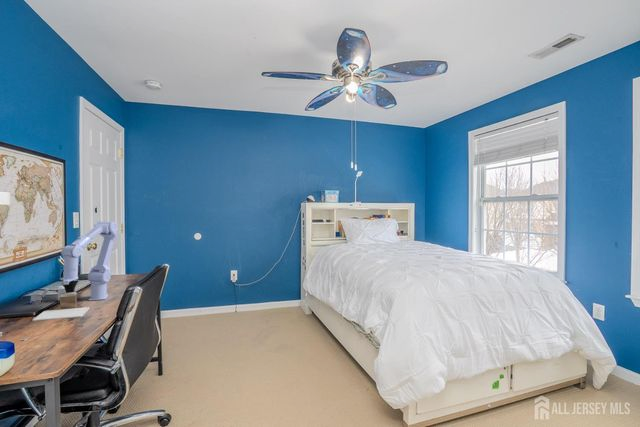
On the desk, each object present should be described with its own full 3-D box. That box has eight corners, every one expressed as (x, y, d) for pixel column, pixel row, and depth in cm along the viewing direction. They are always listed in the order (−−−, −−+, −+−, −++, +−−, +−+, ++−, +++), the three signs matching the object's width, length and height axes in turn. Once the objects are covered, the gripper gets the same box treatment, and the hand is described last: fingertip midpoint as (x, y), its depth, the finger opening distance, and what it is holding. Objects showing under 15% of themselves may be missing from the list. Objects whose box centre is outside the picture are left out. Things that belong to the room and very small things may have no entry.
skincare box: (74, 298, 173) (75, 285, 173) (70, 301, 167) (71, 287, 167) (61, 299, 171) (62, 285, 171) (56, 302, 165) (57, 288, 165)
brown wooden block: (62, 307, 155) (61, 293, 154) (77, 306, 158) (76, 292, 156) (60, 310, 153) (60, 295, 151) (75, 309, 155) (75, 294, 154)
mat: (44, 311, 150) (44, 310, 150) (89, 308, 157) (89, 307, 157) (32, 321, 137) (32, 319, 137) (81, 316, 145) (81, 315, 145)
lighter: (30, 304, 159) (30, 289, 159) (31, 303, 160) (32, 288, 160) (48, 303, 162) (48, 288, 162) (49, 302, 164) (49, 287, 164)
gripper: (66, 266, 161) (64, 292, 161) (55, 272, 148) (54, 300, 148) (82, 266, 164) (81, 291, 164) (73, 271, 151) (72, 298, 151)
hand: (69, 295), depth 156 cm, fingers closed
